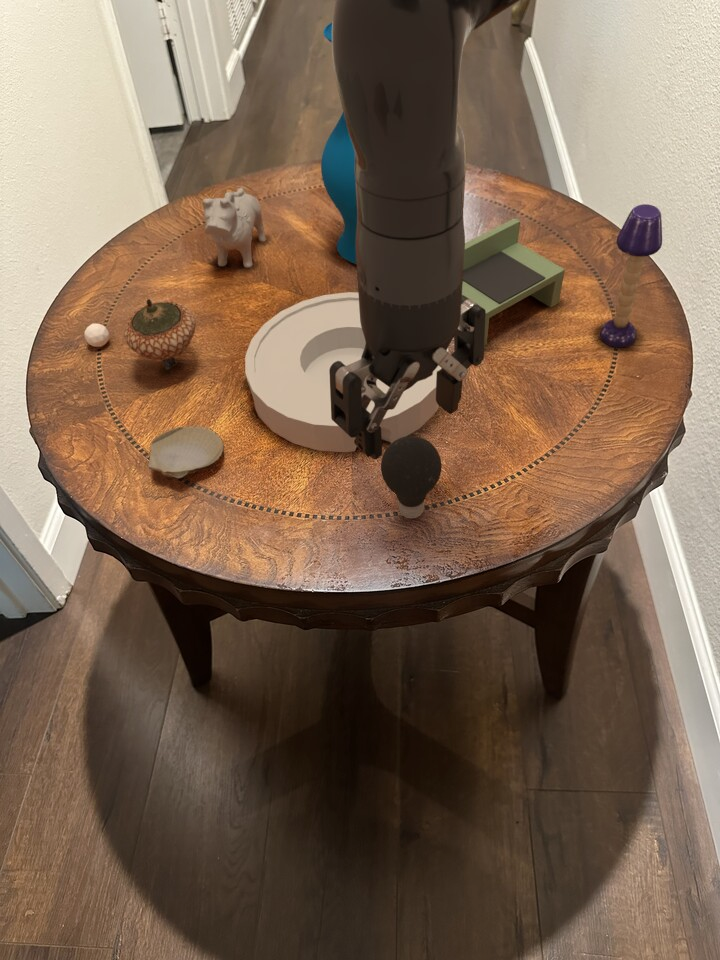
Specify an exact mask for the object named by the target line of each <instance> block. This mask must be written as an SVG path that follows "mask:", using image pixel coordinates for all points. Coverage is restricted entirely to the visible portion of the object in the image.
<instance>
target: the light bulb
mask: <svg viewBox="0 0 720 960" xmlns="http://www.w3.org/2000/svg"><path fill="white" fill-rule="evenodd" d="M442 469H443V465H442V459H441V456H440V454H439V451H438V449H437V448H436V447H435V446H434V444H432V443H431V442H430V441H429V440H427V439H426V438H423V437H420V436H414V435H408V436H406V437H402V438H399V439H397V440H395V441H394V442H393V443H391V442H390V444H389V445H388V446H387V447H386V449H385V450H384V452H383V453H382V456H381V462H380V470H381V471H380V472H381V473H380V474H381V476H382V480H383V481H384V483H385V485H386V486H387V488H388V489H389V490H390V491H391V492H392V493H394V495H395V496H396V500H397V501H398V511H399V513H400V514H401V515H402V516H403V517H404V518H407V519H416V518H418V517H420V516H421V515H423V512H424V508H425V500H426V499H427V495H428V494H429V493H431V491H432V490H433V489H435V487H436V485H437V483H438V482H439V480H440V479H441V474H442Z"/></svg>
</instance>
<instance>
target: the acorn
mask: <svg viewBox="0 0 720 960" xmlns="http://www.w3.org/2000/svg"><path fill="white" fill-rule="evenodd" d="M196 325H197V322H196V320H195V317H194V316H193V313H192V311H191V310H190V309H189V308H188V307H187V306H185V305H183V304H182V303H180V302H176V301H166V300H165V301H159V302H154V303H153V302H152V300H151V299H149V298H148V299H147V300H146V305H144V306H142V307H140V308H139V309H137V310H135V312H134V313H133V314H132V315H131V317H130V318H129V319H128V321H126V322H125V327H124V330H123V337H124V340H125V343H126V345H127V346H128V347H129V349H130V350H132V351H133V352H135V353H136V354H138V355H140V356H141V357H143V358H146V359H148V360H150V361H156V360H157V361H161V360H162V365H163V366H164V369H165V370H170V369H171V368H173V367H175V366H177V364H178V362H177V360H176V359H175V357H177V356H179V355H182V354H183V352H184V351H186V350H187V349H188V347H189V345H190V343H191V341H192V340H193V338H194V335H195V333H196Z"/></svg>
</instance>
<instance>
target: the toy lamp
mask: <svg viewBox="0 0 720 960" xmlns="http://www.w3.org/2000/svg"><path fill="white" fill-rule="evenodd" d="M662 222H663V221H662V212H661V210H660V209H659V208H658V207H657V206H655V205H652V204H649V203H648V204H647V203H646V204H645V203H644V204H637V205H636V206H634V207H633V208H632V209H631V210H630V212H629V214H628V215H627V217H626V219H625V221H624V223H623V225H622V227H621V229H620V230H619V233H618V235H617V237H616V246H617V248H618V249H619V251H621V252H622V253H624V254H626V255H628V258H627V259H626V263H625V268H626V269H625V270H624V273H623V277H622V278H623V281H622V282H621V284H620V292H619V294H618V296H617V301H618V303H617V304H616V307H615V314H614V315H613V318H612V319H610V320H608V321H606V322H605V323H604V324H603V326H601V328H600V331H599V338H600V340H601V341H602V342H603V343H604V344H606V345H607V346H610V347H613V348H627V347H629V346H631V345H633V344H634V343H635V342H636V339H637V330H636V327H635V326H634V324H633V323H632V322H630V318H631V316H630V314H631V313H632V311H633V304H634V302H635V300H636V292H637V291H638V289H639V283H638V282H639V281H640V278H641V275H642V272H641V270H642V269H643V267H644V261H645V260H644V258H645V257H649V256H652V255H655V254H656V253H657V252H659V251H660V249H661V248H662V245H663V223H662Z"/></svg>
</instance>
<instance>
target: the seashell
mask: <svg viewBox="0 0 720 960" xmlns="http://www.w3.org/2000/svg"><path fill="white" fill-rule="evenodd" d="M224 449H225V445H224V440H223V439H222V437H221V436H220V435H219V434H218V433H217V432H216V431H213V430H212V429H210V428H207V427H206V426H200V425H198V426H194V425H190V426H177V427H176V428H171V429H169V430H166V431H164V432H162V433H160V434H159V435H157V436H155V437H154V438H153V439H152V441H151V443H150V445H149V452H150V456H149V461H148V465H147V467H148V468H149V470H152V471H156V472H160V474H161V475H163V476H164V477H170V478H176V479H183V478H184V477H187V475H190V474H193V473H196V472H198V471H201V470H203V469H205V468H208V467H210V466H212V465H213V464H215V462H217V461H219V459H220V457H222V455H223V453H224Z"/></svg>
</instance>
